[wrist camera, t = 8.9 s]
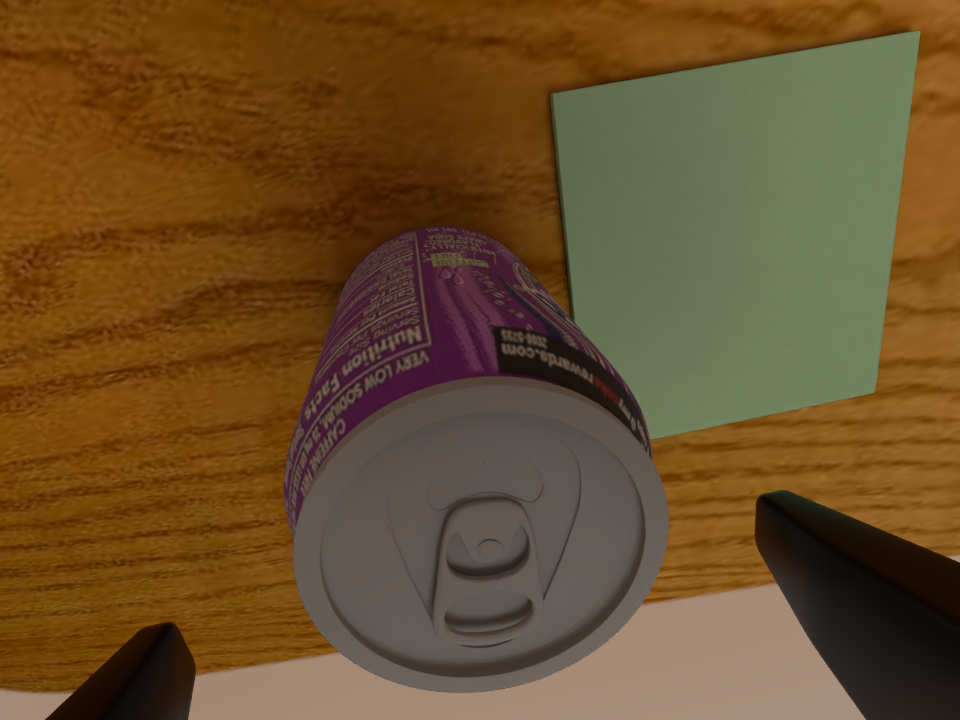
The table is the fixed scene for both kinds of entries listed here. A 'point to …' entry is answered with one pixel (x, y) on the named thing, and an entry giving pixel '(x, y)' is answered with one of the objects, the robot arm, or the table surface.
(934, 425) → the table surface
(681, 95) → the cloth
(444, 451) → the beverage can
